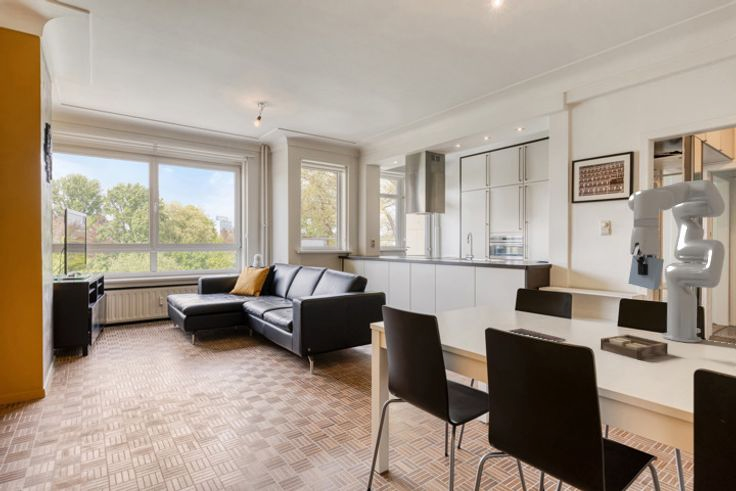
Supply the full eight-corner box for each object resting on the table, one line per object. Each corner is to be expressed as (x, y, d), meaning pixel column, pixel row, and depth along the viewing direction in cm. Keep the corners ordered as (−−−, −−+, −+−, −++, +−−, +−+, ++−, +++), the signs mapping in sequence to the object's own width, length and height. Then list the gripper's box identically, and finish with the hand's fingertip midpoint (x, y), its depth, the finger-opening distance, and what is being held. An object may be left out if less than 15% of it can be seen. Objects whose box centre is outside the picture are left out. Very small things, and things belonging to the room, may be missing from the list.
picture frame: (494, 337, 168) (537, 350, 149) (494, 332, 168) (537, 343, 149) (521, 333, 176) (565, 344, 157) (521, 327, 176) (565, 338, 157)
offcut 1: (618, 348, 145) (618, 337, 145) (630, 351, 141) (631, 340, 141) (609, 349, 143) (609, 339, 143) (621, 353, 139) (621, 342, 139)
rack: (627, 347, 150) (627, 334, 150) (667, 357, 137) (667, 343, 137) (600, 352, 144) (600, 338, 144) (639, 363, 131) (640, 348, 131)
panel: (633, 283, 148) (638, 254, 147) (658, 289, 140) (663, 259, 139) (628, 283, 147) (632, 254, 146) (653, 289, 139) (658, 259, 137)
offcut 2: (634, 352, 140) (634, 342, 140) (648, 356, 136) (648, 346, 136) (625, 354, 138) (625, 344, 138) (639, 357, 134) (639, 347, 134)
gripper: (649, 224, 149) (649, 272, 149) (621, 224, 143) (620, 274, 143) (671, 224, 142) (670, 274, 143) (642, 223, 136) (642, 276, 136)
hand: (645, 274), depth 143 cm, fingers closed on panel, 2 cm apart
